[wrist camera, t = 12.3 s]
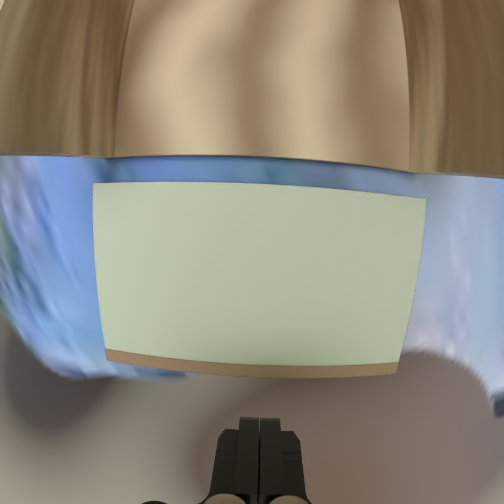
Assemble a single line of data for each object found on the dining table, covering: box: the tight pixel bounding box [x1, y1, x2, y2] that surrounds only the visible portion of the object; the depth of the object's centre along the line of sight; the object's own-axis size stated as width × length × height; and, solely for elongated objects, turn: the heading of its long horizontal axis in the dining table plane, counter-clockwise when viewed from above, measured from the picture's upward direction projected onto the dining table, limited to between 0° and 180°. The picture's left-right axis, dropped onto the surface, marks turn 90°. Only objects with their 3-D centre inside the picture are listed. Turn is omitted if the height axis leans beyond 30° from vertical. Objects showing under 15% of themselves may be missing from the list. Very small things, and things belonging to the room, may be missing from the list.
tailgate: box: [93, 182, 426, 378], centre depth 18 cm, size 20×1×12 cm
